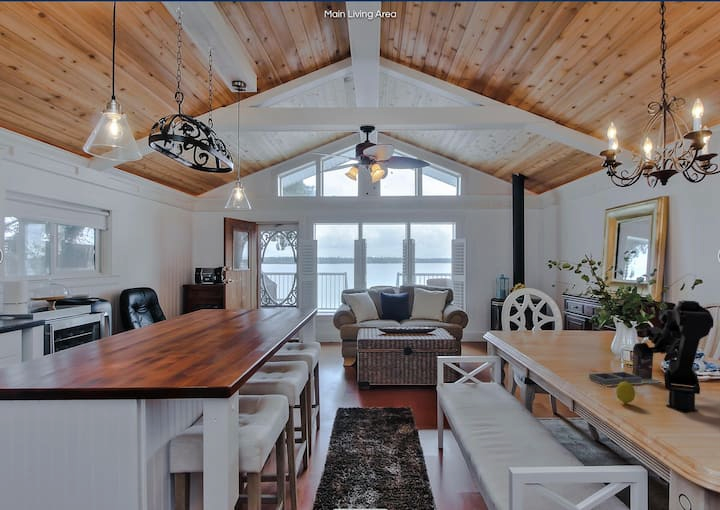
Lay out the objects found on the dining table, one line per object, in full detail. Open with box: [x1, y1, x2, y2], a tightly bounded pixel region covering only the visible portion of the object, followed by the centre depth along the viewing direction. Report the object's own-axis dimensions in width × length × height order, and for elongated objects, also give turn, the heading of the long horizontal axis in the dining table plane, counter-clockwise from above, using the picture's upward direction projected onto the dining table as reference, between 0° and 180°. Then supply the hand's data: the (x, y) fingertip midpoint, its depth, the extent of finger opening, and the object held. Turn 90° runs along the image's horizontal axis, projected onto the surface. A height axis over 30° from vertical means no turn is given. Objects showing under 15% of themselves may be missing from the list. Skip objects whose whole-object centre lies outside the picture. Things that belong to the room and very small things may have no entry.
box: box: [631, 347, 654, 379], centre depth 178 cm, size 6×4×12 cm
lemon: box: [615, 381, 636, 405], centre depth 148 cm, size 6×6×8 cm
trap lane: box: [588, 371, 663, 387], centre depth 176 cm, size 10×27×2 cm, turn 103°
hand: (653, 361), depth 170 cm, fingers open, 9 cm apart
